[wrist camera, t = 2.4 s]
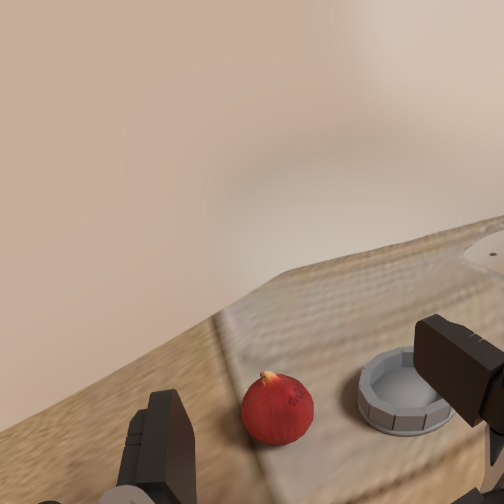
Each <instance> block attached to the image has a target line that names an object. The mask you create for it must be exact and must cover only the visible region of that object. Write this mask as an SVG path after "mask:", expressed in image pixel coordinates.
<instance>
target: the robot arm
mask: <svg viewBox="0 0 504 504" xmlns="http://www.w3.org/2000/svg"><path fill="white" fill-rule="evenodd" d="M413 363H414V367H415V369H416V371H417V373H418V374H419V375H420V376H421V377H422V378H423V379H424V380H425V381H426V382H427V383H428V384H429V385H430V386H431V387H432V388H433V389H434V390H435V391H436V392H437V393H438V394H439V395H440V396H441V397H442V398H443V399H444V400H445V401H446V402H447V403H448V404H449V405H450V406H451V407H452V408H453V409H454V410H455V411H456V412H457V413H458V414H459V415H460V416H461V417H462V418H463V419H464V420H465V421H466V422H467V423H468V424H469V425H470V426H471V427H472V428H473V427H475V426H476V425H478V424H479V423H480V422H482V421H483V420H484V421H486V422H487V424H486V427H485V475H484V479H483V482H482V485H481V488H480V491H478V489H477V488H476V487H475V488H474V489H472V490H471V491H469V492H468V493H466V494H465V495H464V496H462V497H461V498H459V499H457V500H456V501H454V502H453V503H451V504H504V352H503V351H501V350H500V349H498V348H497V347H495V346H494V345H492V344H491V343H489V342H488V341H486V340H485V339H482V337H480V336H479V335H477V334H474V332H472V331H471V330H469V329H468V328H466V327H465V326H462V325H459V324H456V323H452V322H449V321H447V320H446V319H444V318H443V317H441V316H440V315H438V314H434V315H432V316H430V317H427V318H425V319H422V320H420V321H418V322H417V323H416V326H415V338H414V352H413ZM127 435H128V437H126V442H125V447H124V451H123V456H122V460H121V465H120V470H119V475H118V480H117V485H116V487H114V488H112V489H110V490H108V491H107V492H106V493H105V494H104V495H103V496H102V497H101V498H100V500H99V502H98V504H197V499H196V470H195V437H194V432H193V428H192V425H191V422H190V420H189V418H188V415H187V413H186V411H185V409H184V406H183V404H182V402H181V399H180V397H179V395H178V393H177V391H176V390H175V389H170V390H164V391H157V392H152V393H151V394H150V398H149V403H148V408H147V409H142V410H138V412H137V413H136V414H135V416H134V417H133V418H132V420H131V421H130V424H129V429H128V433H127ZM39 504H61V503H59V502H56V501H44V502H41V503H39Z"/></svg>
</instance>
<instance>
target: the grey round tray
mask: <svg viewBox="0 0 504 504" xmlns="http://www.w3.org/2000/svg"><path fill="white" fill-rule="evenodd" d="M413 352H414V347H401V348H400V347H398V348H396V349H393V350H390V351H387V352H384V353H381V354H379V355H377V356H376V357H374V358H373V359H372V360H371V361H370V362H369V363H368V364H367V365H365V366H364V367H363V369H362V372H361V376H360V381H359V385H358V396H357V404H358V409H359V412H360V414H361V415H362V417H363V418H364V420H365V421H366V422H367V423H368V424H369V425H371V426H372V427H374V428H375V429H377V430H379V431H381V432H383V433H386V434H390V435H395V436H404V437H409V436H418V435H423V434H426V433H430V432H432V431H434V430H436V429H438V428H440V427H442V426H443V425H444V424H446V423H447V422H448V421H449V420H450V419H451V418H452V416H453V415H454V414H455V412H456V411H455V410H454V409H453V408H452V407H451V406H450V405H449V404H448V403H447V402H446V401H445V400H444V399H443V398H442V397H441V396H440V395H439V394H438V393H437V392H436V391H435V390H434V389H433V388H432V387H431V386H430V385H429V384H428V383H427V382H426V381H425V380H424V379H423V378H422V377H421V376H420V375H419V374H418V373H417V371H416V369H415V367H414V363H413Z"/></svg>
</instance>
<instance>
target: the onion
mask: <svg viewBox="0 0 504 504" xmlns="http://www.w3.org/2000/svg"><path fill="white" fill-rule="evenodd" d="M260 376H261V378H260V379H258V380H257V381H256V382H254V383H253V384H252V385H251V386H250V387H249V389H248V391H247V392H246V394H245V396H244V398H243V401H242V409H241V417H242V420H243V422H244V424H245V426H246V428H247V430H248V432H249V433H250V434H251V435H252V436H254V437H255V438H256V439H258V440H260V441H262V442H265V443H268V444H271V445H285V444H288V443H291V442H294V441H296V440H298V439H299V438H300V437H301V436H303V435H304V434H305V432H306V431H307V430H308V428H309V426H310V424H311V423H312V421H313V415H314V403H313V400H312V397H311V395H310V394H309V392H308V391H307V389H306V388H305V387H304V386H303V385H302V383H300V382H299V381H298V380H296V379H294V378H292V377H289V376H286V375H283V374H274V373H273V372H271V371H264V372H261V373H260Z"/></svg>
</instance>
